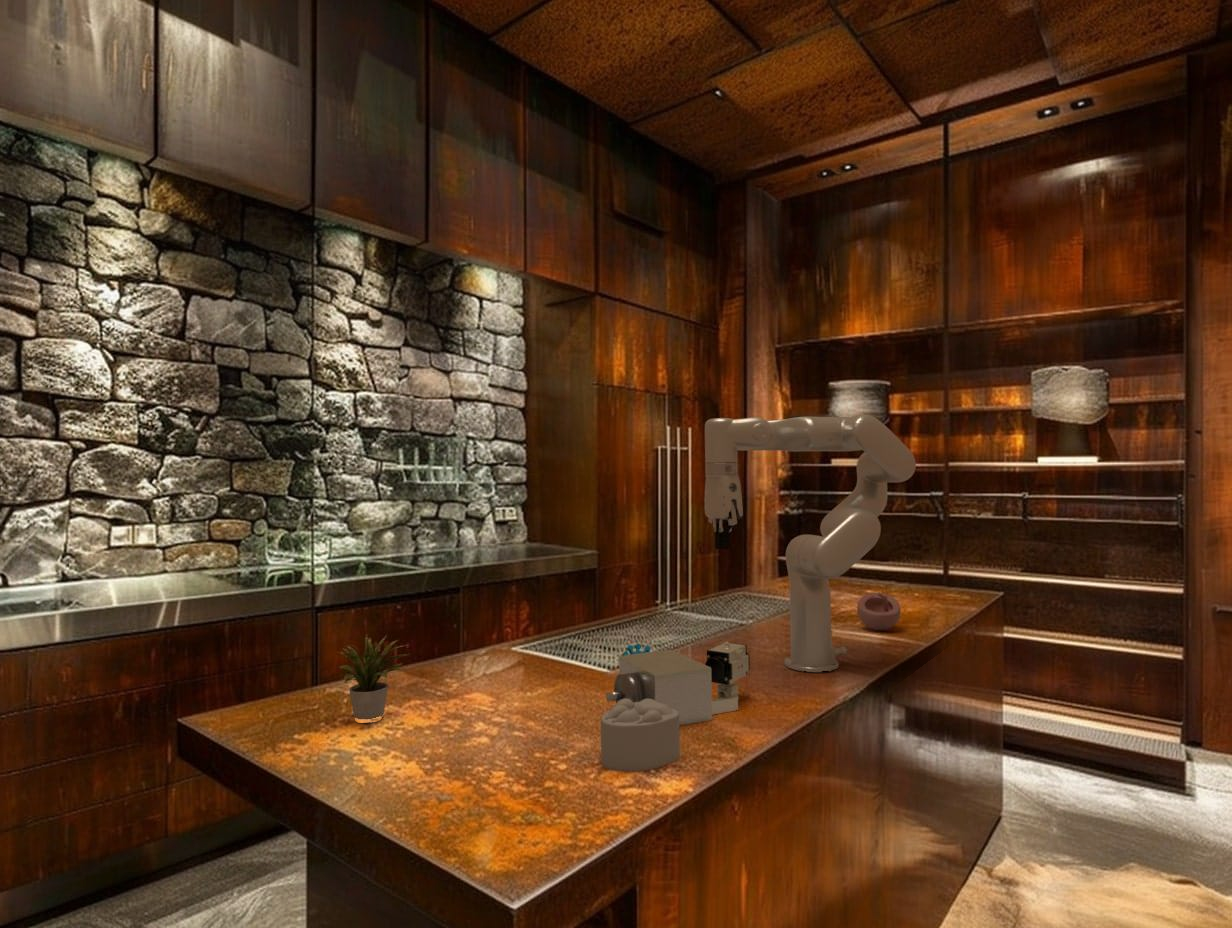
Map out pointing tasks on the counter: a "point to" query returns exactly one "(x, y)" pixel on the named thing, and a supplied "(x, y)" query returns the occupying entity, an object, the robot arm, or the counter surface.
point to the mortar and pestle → (878, 611)
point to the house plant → (369, 679)
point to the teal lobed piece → (637, 646)
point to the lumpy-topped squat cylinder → (639, 736)
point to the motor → (670, 685)
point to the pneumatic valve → (728, 667)
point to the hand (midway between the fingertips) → (722, 548)
